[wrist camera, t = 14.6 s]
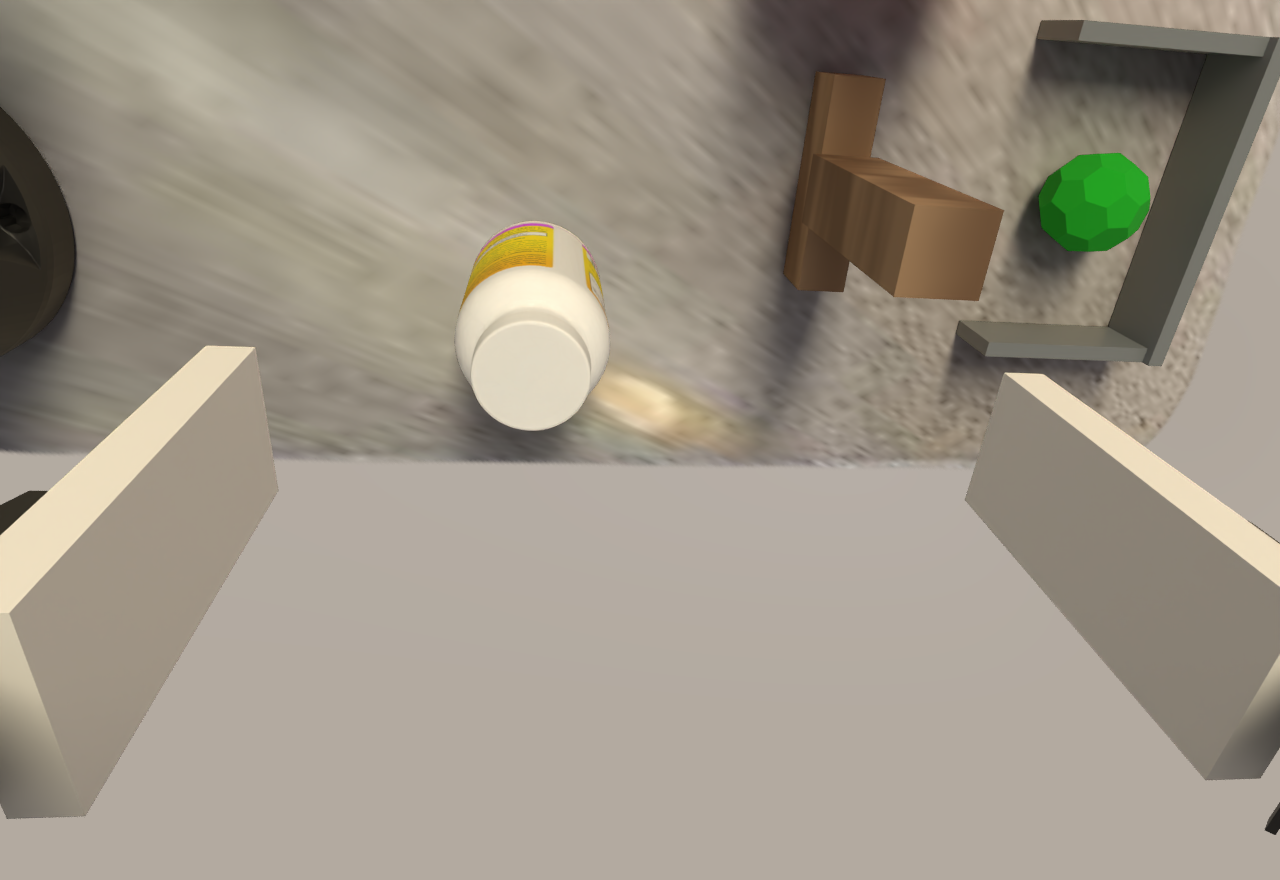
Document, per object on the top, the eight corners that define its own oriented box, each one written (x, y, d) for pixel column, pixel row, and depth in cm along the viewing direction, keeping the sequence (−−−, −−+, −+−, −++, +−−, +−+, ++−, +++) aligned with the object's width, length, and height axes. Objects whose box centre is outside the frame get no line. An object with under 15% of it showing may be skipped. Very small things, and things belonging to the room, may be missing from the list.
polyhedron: (1001, 206, 42) (1050, 227, 38) (1070, 125, 41) (1129, 137, 36) (1061, 257, 44) (1114, 282, 40) (1129, 181, 42) (1193, 198, 38)
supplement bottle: (449, 296, 42) (409, 397, 30) (517, 191, 40) (501, 258, 28) (555, 362, 44) (554, 480, 33) (624, 267, 42) (649, 357, 31)
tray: (956, 333, 45) (989, 359, 42) (1041, 20, 38) (1091, 20, 35) (1115, 340, 47) (1161, 366, 43) (1228, 37, 39) (1295, 39, 36)
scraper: (775, 273, 43) (873, 384, 30) (807, 70, 38) (940, 95, 25) (832, 276, 43) (954, 387, 30) (870, 75, 39) (1033, 102, 25)
